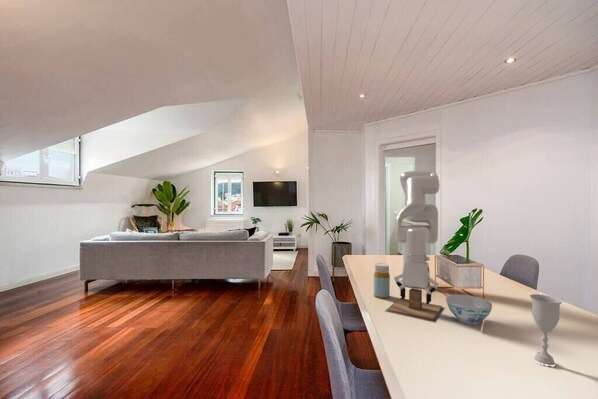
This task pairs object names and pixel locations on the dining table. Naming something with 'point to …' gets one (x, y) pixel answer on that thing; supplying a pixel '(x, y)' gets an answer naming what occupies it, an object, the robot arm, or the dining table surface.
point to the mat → (420, 318)
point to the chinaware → (469, 308)
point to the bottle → (381, 281)
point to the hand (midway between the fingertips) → (415, 300)
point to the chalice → (545, 321)
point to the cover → (415, 306)
